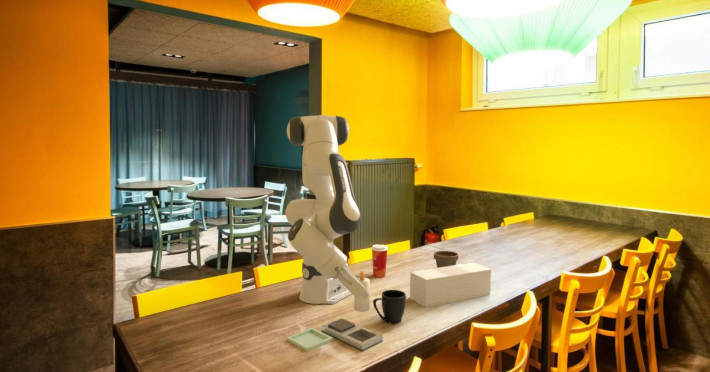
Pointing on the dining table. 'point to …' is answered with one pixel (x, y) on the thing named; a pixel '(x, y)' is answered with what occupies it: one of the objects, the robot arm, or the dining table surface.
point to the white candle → (360, 302)
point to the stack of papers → (449, 284)
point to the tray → (309, 339)
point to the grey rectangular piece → (352, 334)
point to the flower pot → (445, 258)
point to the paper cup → (379, 260)
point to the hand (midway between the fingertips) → (364, 293)
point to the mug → (392, 306)
